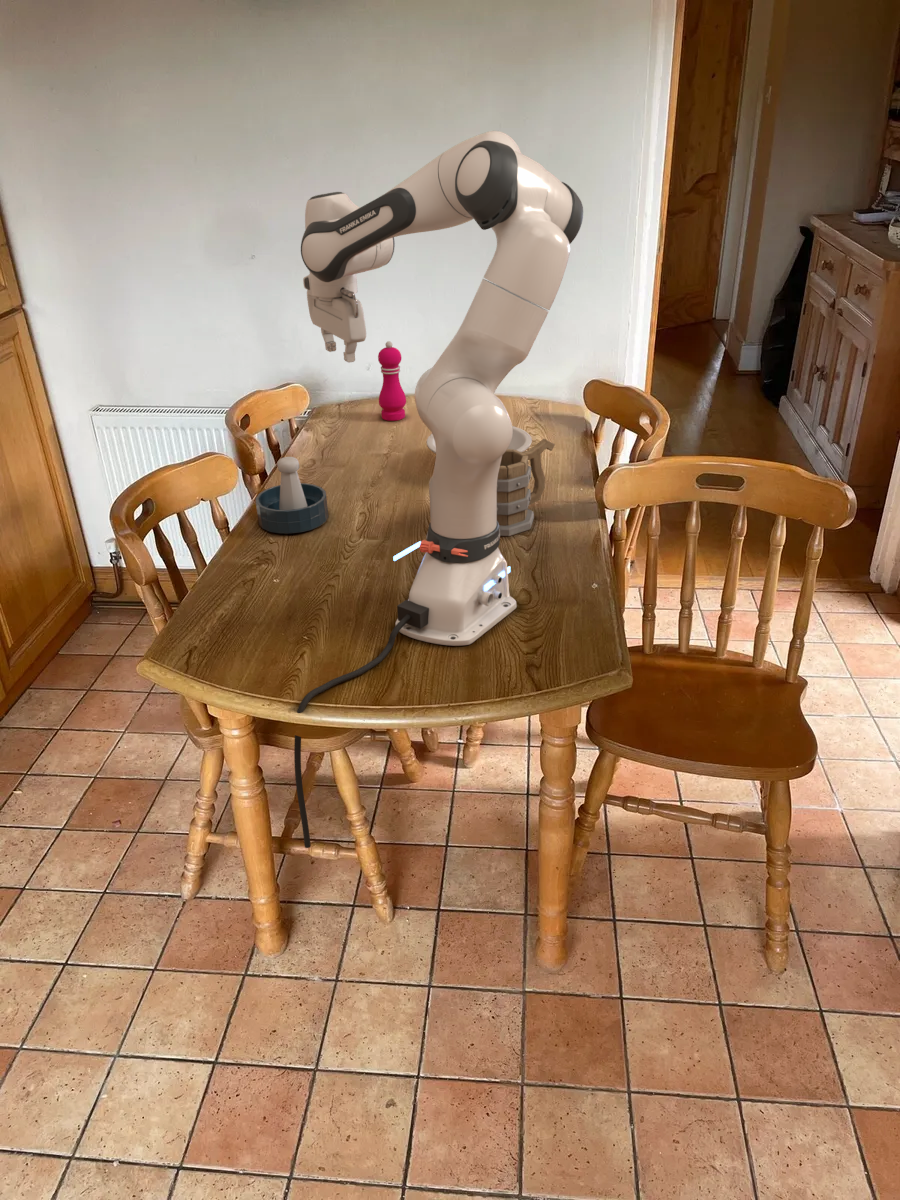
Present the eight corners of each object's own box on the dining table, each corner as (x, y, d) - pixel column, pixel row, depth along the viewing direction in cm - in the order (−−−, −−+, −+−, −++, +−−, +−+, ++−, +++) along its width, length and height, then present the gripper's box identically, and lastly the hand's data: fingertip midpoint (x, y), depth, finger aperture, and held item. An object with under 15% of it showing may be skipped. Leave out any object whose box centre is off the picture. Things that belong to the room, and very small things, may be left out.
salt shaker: (303, 525, 188) (295, 465, 181) (276, 523, 189) (268, 463, 182) (312, 513, 193) (305, 454, 186) (286, 511, 194) (279, 453, 187)
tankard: (494, 542, 180) (493, 469, 172) (457, 519, 189) (455, 450, 182) (573, 516, 189) (576, 446, 182) (535, 496, 198) (536, 429, 191)
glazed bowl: (304, 540, 183) (301, 515, 180) (245, 529, 188) (241, 504, 185) (341, 512, 194) (338, 488, 191) (284, 502, 199) (281, 479, 196)
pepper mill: (412, 415, 246) (408, 339, 236) (396, 423, 241) (392, 346, 231) (390, 411, 250) (385, 336, 240) (374, 419, 245) (368, 343, 235)
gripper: (371, 291, 170) (376, 365, 177) (329, 273, 186) (335, 342, 193) (340, 295, 168) (346, 370, 175) (299, 277, 184) (306, 347, 190)
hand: (340, 356), depth 184 cm, fingers open, 8 cm apart
